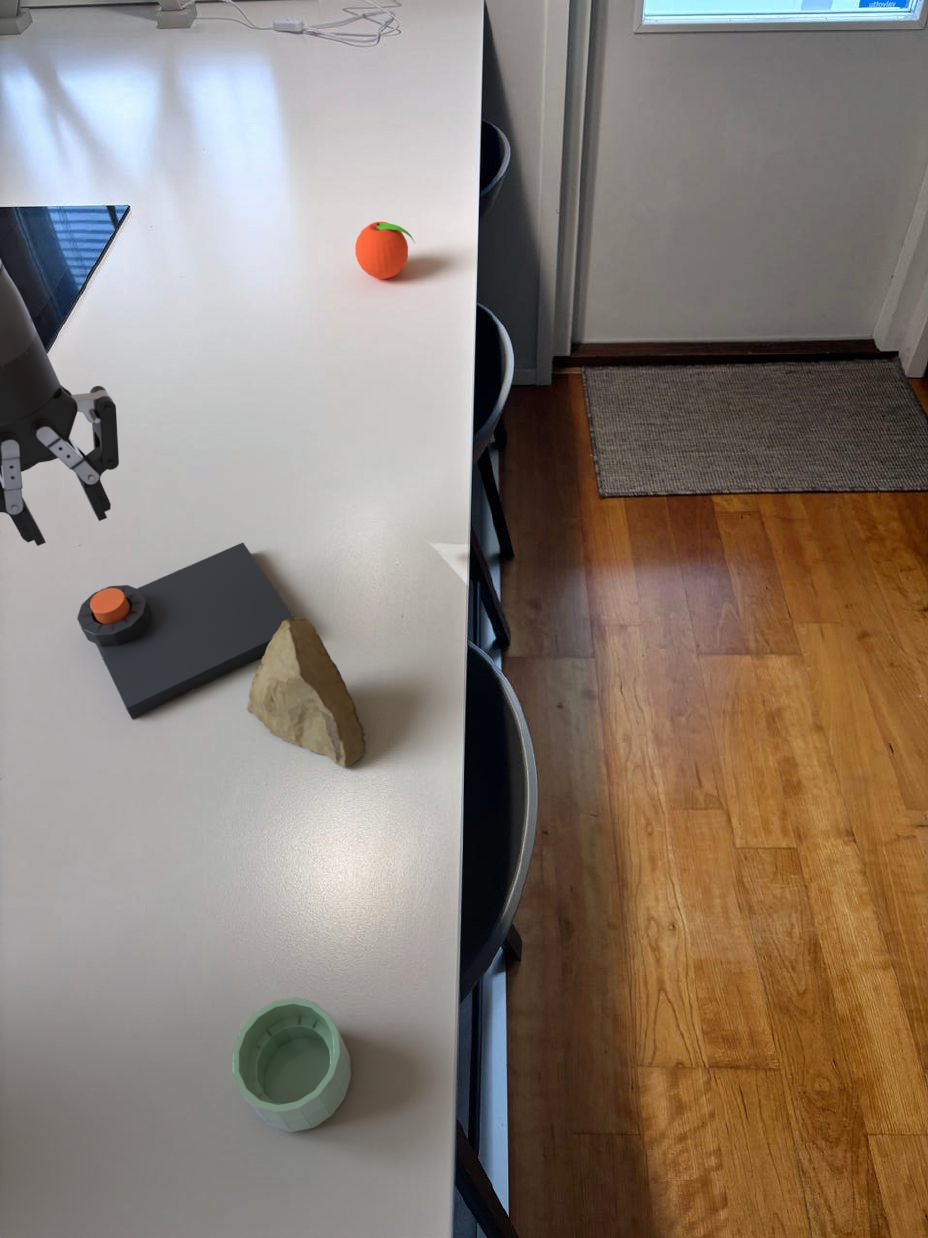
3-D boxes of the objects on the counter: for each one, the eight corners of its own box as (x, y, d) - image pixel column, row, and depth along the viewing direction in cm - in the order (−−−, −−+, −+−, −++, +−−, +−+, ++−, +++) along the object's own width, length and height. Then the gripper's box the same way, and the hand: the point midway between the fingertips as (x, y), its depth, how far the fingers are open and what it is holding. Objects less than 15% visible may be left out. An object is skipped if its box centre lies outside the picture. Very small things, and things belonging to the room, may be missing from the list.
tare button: (101, 629, 83) (95, 618, 82) (91, 608, 85) (85, 596, 84) (134, 615, 84) (129, 603, 83) (123, 594, 86) (118, 582, 85)
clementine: (421, 261, 128) (416, 210, 123) (415, 288, 124) (409, 236, 119) (363, 262, 129) (356, 210, 124) (354, 288, 125) (346, 236, 120)
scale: (127, 722, 80) (114, 699, 77) (82, 626, 87) (69, 602, 85) (303, 637, 85) (296, 613, 83) (246, 553, 93) (239, 529, 90)
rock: (402, 736, 74) (363, 637, 80) (328, 716, 68) (291, 609, 73) (308, 807, 78) (276, 707, 83) (228, 795, 71) (200, 687, 77)
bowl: (276, 1156, 57) (258, 1134, 54) (235, 1061, 61) (216, 1036, 57) (369, 1094, 59) (358, 1070, 56) (324, 1006, 63) (311, 978, 59)
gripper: (-125, 404, 59) (-8, 591, 72) (96, 329, 64) (169, 517, 77) (-143, 350, 64) (-30, 535, 77) (65, 283, 68) (139, 468, 81)
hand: (69, 525), depth 77 cm, fingers open, 4 cm apart
